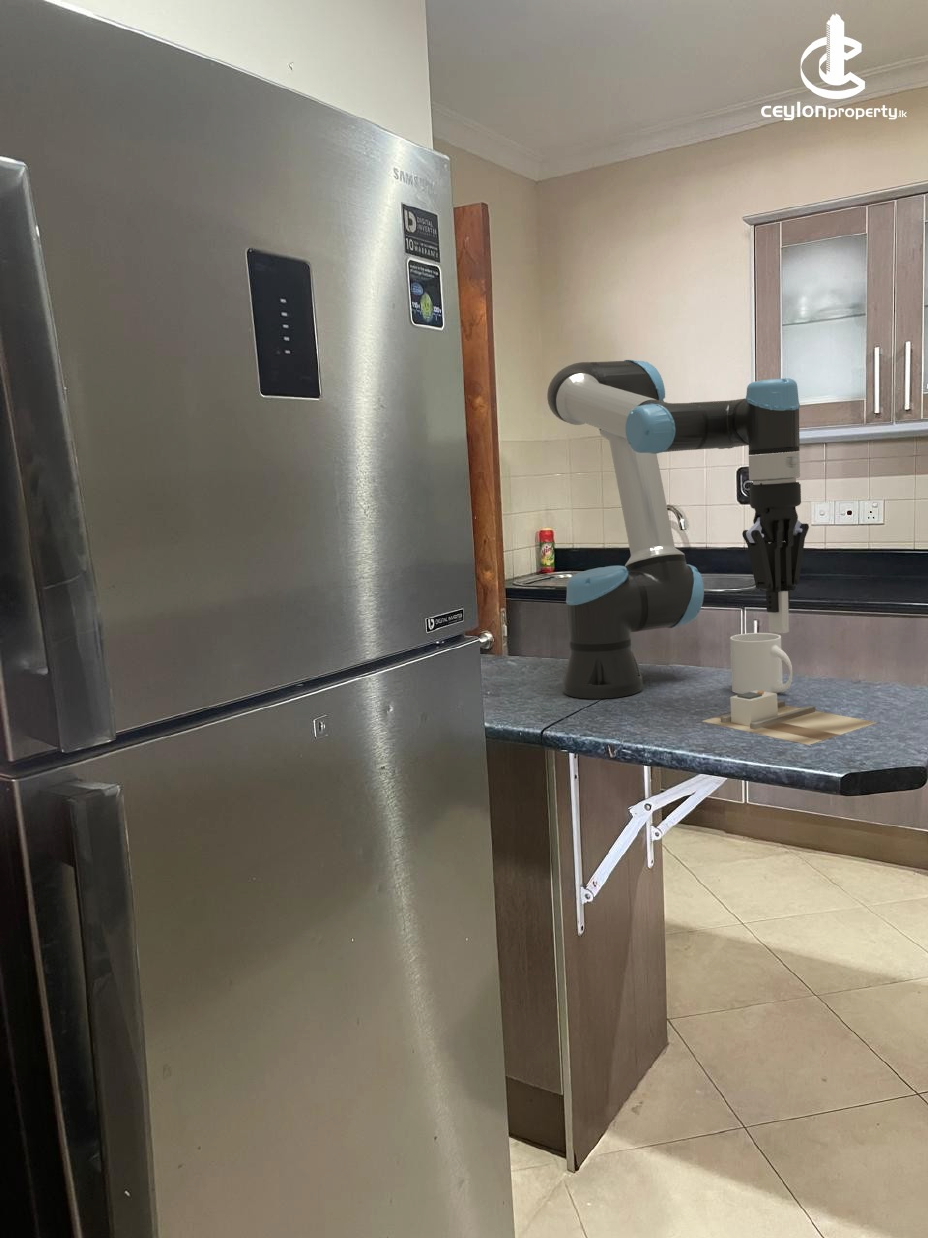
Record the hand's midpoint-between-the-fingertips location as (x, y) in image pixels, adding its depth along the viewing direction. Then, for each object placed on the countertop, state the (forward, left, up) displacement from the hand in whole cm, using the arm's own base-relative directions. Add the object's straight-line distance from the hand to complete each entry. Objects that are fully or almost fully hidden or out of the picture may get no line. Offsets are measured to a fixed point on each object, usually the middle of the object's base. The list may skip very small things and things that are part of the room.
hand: (778, 631), depth 148 cm
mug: (-11, +10, -14) cm, 21 cm away
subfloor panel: (+5, -4, -14) cm, 16 cm away
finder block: (+1, -7, -13) cm, 15 cm away
